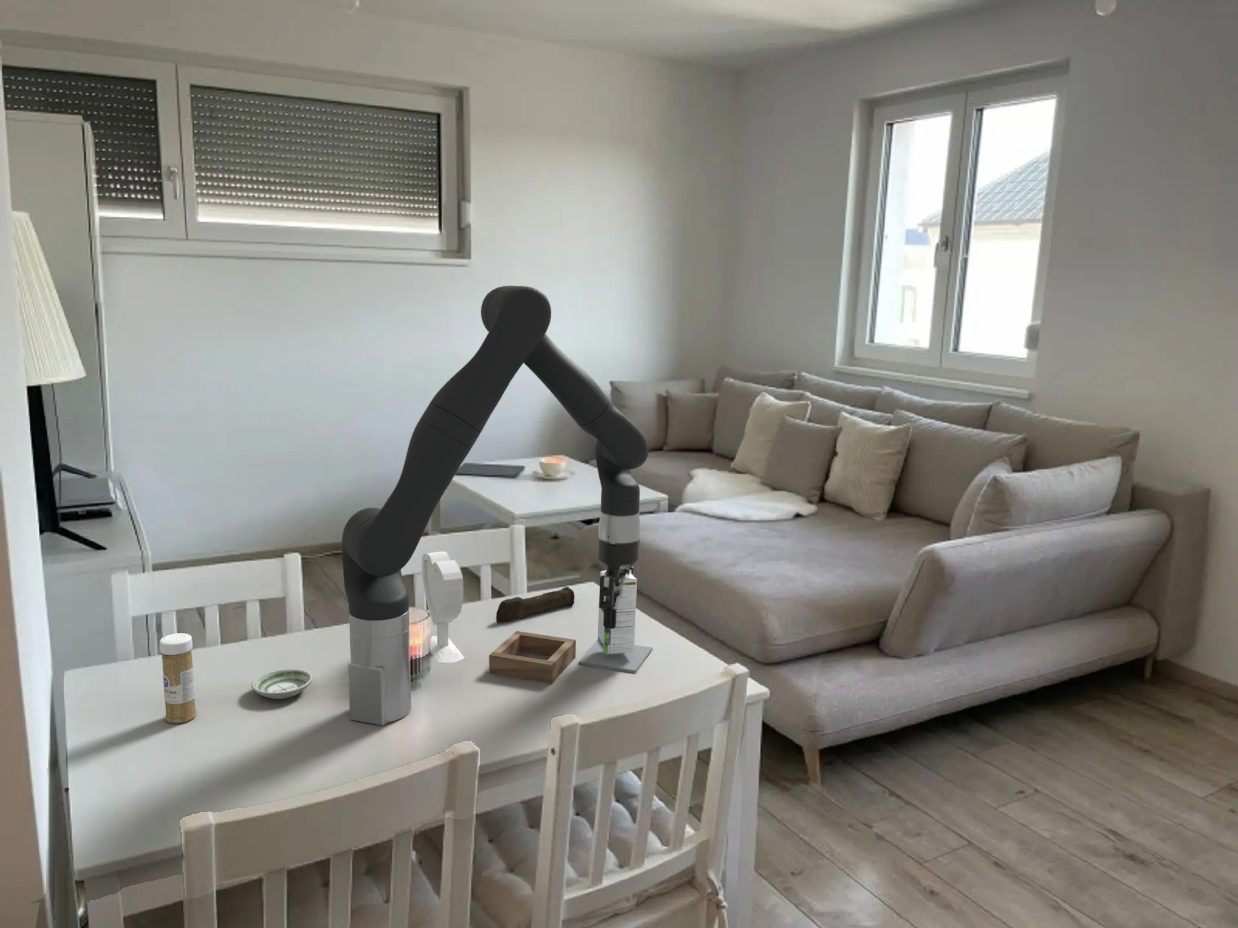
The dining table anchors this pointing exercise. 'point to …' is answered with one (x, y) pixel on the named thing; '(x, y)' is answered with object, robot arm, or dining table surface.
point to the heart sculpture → (443, 601)
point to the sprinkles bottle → (178, 677)
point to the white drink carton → (620, 620)
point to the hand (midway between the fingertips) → (616, 619)
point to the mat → (616, 658)
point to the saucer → (282, 683)
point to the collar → (531, 668)
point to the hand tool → (533, 604)
